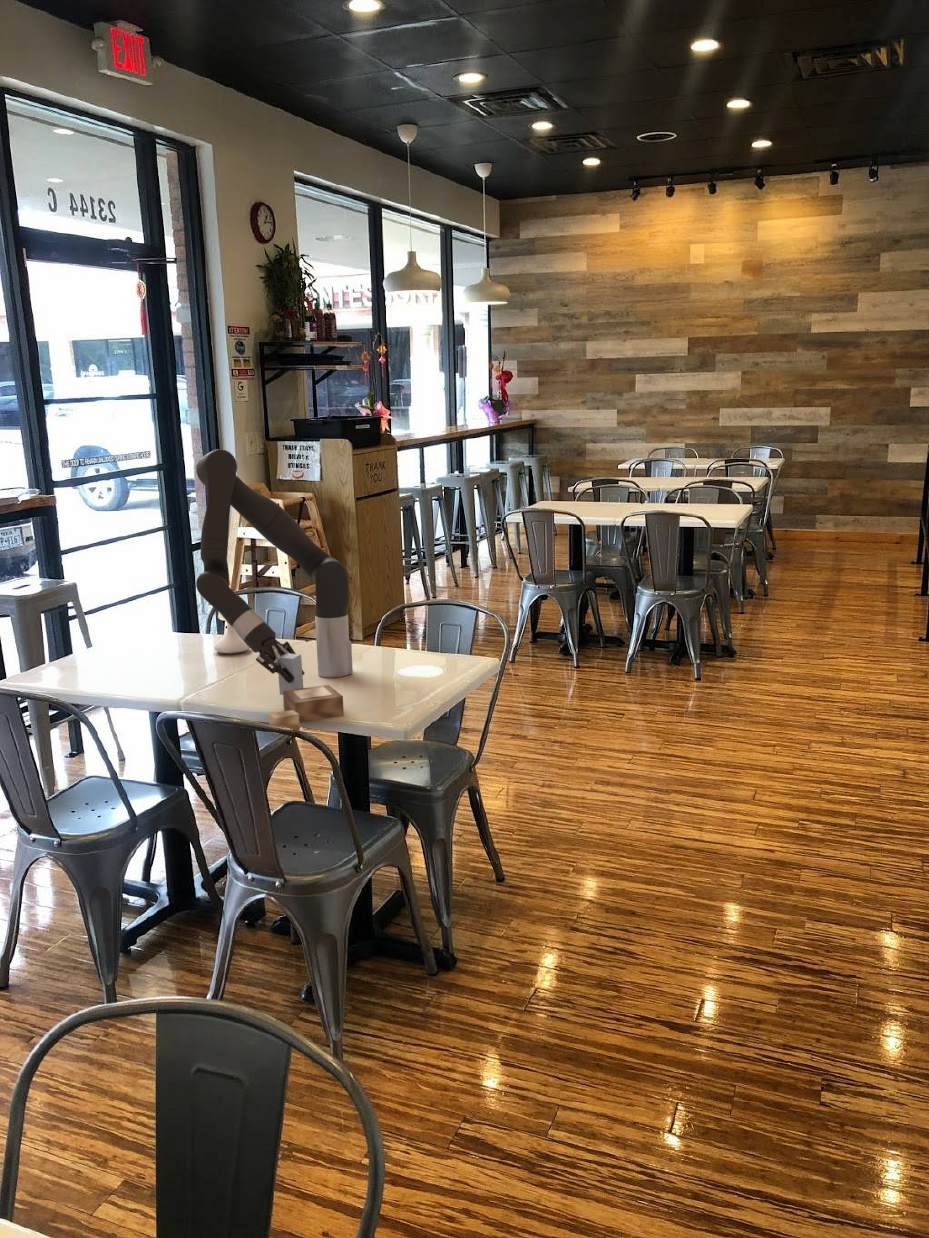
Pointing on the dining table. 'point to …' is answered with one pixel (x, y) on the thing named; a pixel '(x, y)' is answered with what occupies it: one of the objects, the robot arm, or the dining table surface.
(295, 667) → the pillar
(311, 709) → the plinth
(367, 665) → the dining table surface
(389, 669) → the dining table surface
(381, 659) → the dining table surface
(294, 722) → the oak block
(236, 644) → the flower in vase
